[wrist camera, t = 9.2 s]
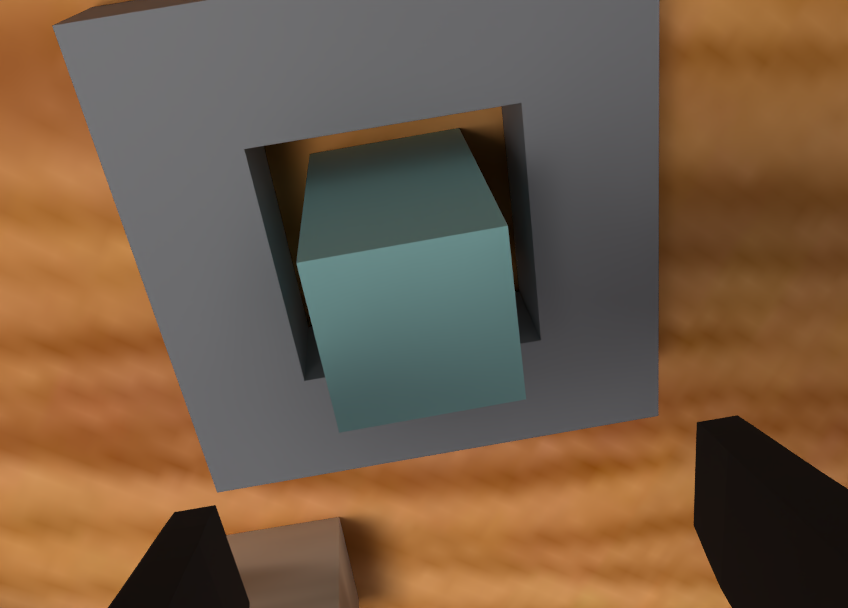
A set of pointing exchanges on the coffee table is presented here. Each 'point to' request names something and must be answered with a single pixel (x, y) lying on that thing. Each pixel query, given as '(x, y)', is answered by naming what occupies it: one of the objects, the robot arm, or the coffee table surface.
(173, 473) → the coffee table surface
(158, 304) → the hole board
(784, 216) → the coffee table surface
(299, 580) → the beige cube
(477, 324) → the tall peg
